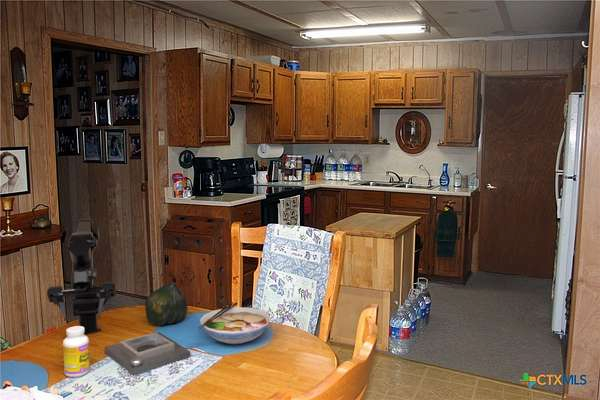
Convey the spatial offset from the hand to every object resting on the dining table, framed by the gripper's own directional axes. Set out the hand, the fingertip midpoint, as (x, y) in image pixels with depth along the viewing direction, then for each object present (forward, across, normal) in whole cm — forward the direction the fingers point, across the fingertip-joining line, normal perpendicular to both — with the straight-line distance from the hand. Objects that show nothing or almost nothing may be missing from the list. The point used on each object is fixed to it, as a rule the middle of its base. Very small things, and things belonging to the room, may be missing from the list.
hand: (82, 318), depth 156 cm
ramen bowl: (+10, +46, +9) cm, 48 cm away
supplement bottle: (+15, -2, +2) cm, 15 cm away
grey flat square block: (+11, +18, +6) cm, 22 cm away
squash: (-6, +26, +28) cm, 38 cm away
